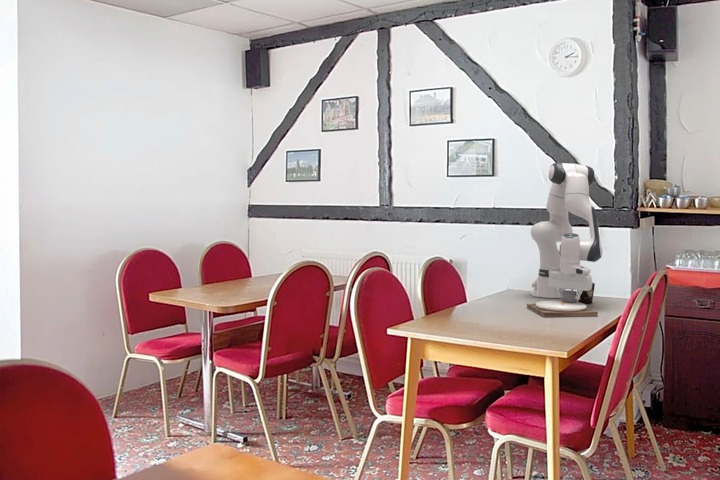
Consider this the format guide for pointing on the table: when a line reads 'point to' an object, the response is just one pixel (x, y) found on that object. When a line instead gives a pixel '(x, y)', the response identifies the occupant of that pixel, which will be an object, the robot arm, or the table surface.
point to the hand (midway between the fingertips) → (569, 298)
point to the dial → (563, 303)
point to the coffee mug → (587, 295)
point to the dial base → (562, 312)
